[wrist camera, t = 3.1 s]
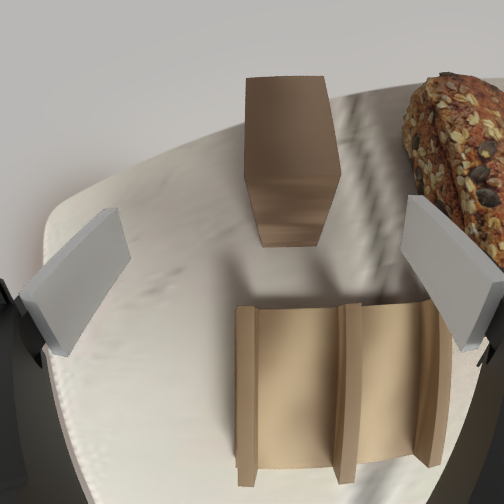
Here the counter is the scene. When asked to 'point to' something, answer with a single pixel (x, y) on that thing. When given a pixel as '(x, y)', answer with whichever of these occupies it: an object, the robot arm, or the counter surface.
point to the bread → (460, 154)
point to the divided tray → (340, 387)
